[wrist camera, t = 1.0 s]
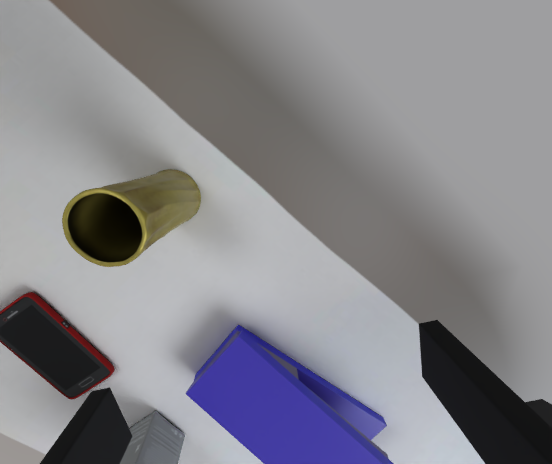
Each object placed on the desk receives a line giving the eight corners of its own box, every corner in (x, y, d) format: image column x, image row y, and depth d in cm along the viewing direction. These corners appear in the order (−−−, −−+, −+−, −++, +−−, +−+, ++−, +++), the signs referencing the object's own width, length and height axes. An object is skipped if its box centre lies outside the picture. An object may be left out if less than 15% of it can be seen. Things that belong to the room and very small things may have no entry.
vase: (188, 231, 32) (133, 287, 19) (138, 207, 31) (41, 248, 17) (209, 185, 31) (168, 210, 17) (158, 159, 30) (70, 162, 16)
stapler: (337, 459, 44) (358, 543, 34) (189, 375, 38) (165, 448, 28) (387, 413, 41) (424, 489, 32) (239, 316, 36) (230, 375, 26)
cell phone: (76, 396, 38) (71, 402, 37) (-13, 321, 34) (-20, 325, 33) (118, 368, 37) (114, 373, 36) (32, 288, 33) (26, 292, 32)
